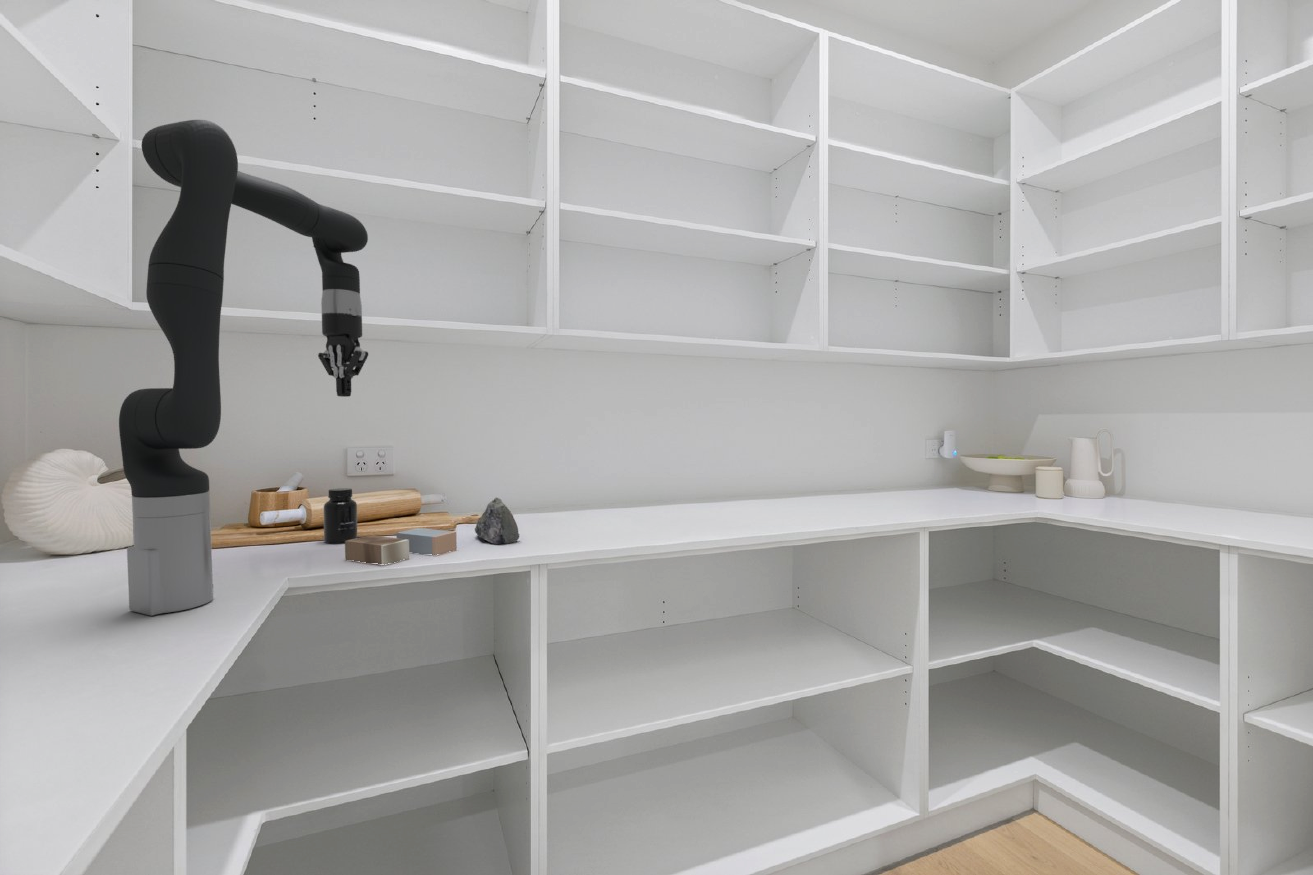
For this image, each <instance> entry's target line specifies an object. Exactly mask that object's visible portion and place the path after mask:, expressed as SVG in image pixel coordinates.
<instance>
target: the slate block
mask: <svg viewBox="0 0 1313 875" xmlns="http://www.w3.org/2000/svg"><path fill="white" fill-rule="evenodd" d="M395 534H396V537H395V538H398V539H407V540H409V552H413V553H412V554H415V553H419V554H418V555H423V554H432V555H437V554H441V555H445V554H448V553H450V552H449V551H451V552H454V551H453V550H455V551H457V550H456V549H457V548H458V546H457V544H458V543H457V542H458V541H457V531H451V530H442V529H433V528H432V529H431V528H424V527H417V528H412V529H408V530H404V531H399V532H396V533H395ZM447 552H448V553H447ZM444 553H445V554H444Z"/></svg>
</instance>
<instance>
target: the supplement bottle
mask: <svg viewBox="0 0 1313 875" xmlns="http://www.w3.org/2000/svg"><path fill="white" fill-rule="evenodd" d="M327 498H328V501H326V502H325V503H324V504H323V540H324V543H326V544H333V545H334V544H345V541H346V540H351V539H356V538H358V504H357V502H356V501H355V500H354V499H352V498H353V489H352V488H345V487H344V488H340V487H339V488H331V489H328V497H327Z"/></svg>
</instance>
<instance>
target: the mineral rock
mask: <svg viewBox="0 0 1313 875" xmlns="http://www.w3.org/2000/svg"><path fill="white" fill-rule="evenodd" d="M474 532H475V534H476V535H477V536H478V538H480V539H481V538H482V539H483V540H485V541H487V542H488V543H491V544H493V545H503V544H512V543H513V542H517V541H518V540H519V538H520V534H519V526H518V524H517V522H516V520H515V518H514V514H512V512H511V510H510V509H509V508H508V507H507V505H506V504H505V503H504V502H503V501H502V499H501V498H499V497H495V498H494V499H492V501H490V502H489V503H488V504H487V505H486V508H485V510H484V512H483V513H482V514H481V516H480V517H479V518H478V519H477V521H476V525H475V528H474Z"/></svg>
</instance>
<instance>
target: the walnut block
mask: <svg viewBox="0 0 1313 875" xmlns="http://www.w3.org/2000/svg"><path fill="white" fill-rule="evenodd" d="M344 554H345V555H344V558H345V559H346V560H345V561H347V560H354V561H360V562H366V563H365V564H367V563H378V564H384V565H385V564H388V563H394V562H397V561H400V560H403V559H408V560H410V553H409V540H407V539H398V538H397V537H390V536H389V537H388V536H380V535H372V534H371V535H366V536H360V537H357V538H356V539H351V540H346V541H345V543H344ZM354 561H353V562H354ZM360 562H359V563H360ZM397 563H398V562H397ZM394 564H395V563H394Z"/></svg>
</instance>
